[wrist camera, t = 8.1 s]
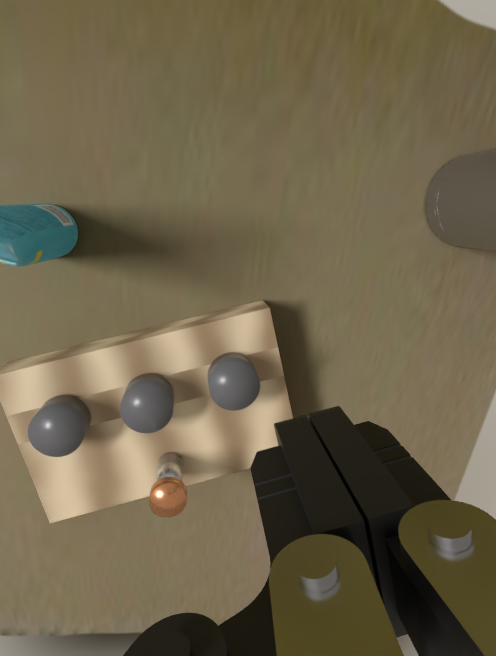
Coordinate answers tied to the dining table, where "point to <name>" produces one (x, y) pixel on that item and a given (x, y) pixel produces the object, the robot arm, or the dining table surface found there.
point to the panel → (146, 448)
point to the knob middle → (147, 403)
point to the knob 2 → (233, 381)
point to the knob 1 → (59, 426)
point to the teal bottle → (35, 233)
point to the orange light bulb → (168, 487)
